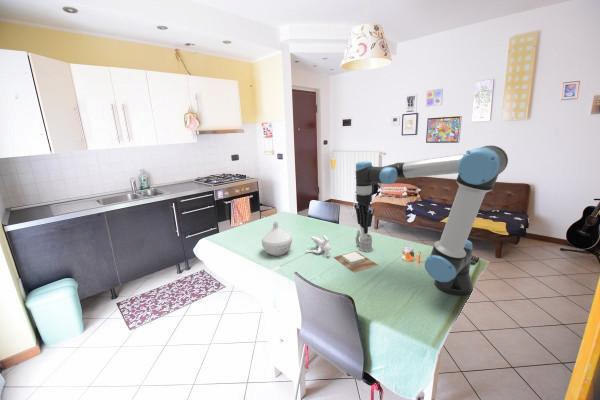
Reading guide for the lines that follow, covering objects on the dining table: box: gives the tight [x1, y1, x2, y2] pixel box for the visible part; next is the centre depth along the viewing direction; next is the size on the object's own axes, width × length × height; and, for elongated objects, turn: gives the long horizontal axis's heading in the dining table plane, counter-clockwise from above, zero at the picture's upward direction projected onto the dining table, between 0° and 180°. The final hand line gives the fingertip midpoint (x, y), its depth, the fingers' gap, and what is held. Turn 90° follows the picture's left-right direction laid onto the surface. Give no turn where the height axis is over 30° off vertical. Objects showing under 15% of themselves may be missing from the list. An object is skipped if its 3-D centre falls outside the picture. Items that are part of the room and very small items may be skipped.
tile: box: [341, 251, 365, 265], centre depth 153 cm, size 2×9×9 cm
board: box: [332, 250, 379, 274], centre depth 152 cm, size 20×16×1 cm
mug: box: [355, 229, 373, 253], centre depth 166 cm, size 8×12×12 cm, turn 35°
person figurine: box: [304, 234, 332, 258], centre depth 166 cm, size 13×13×18 cm
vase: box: [261, 221, 293, 257], centre depth 168 cm, size 18×18×19 cm
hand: (364, 238), depth 141 cm, fingers closed
